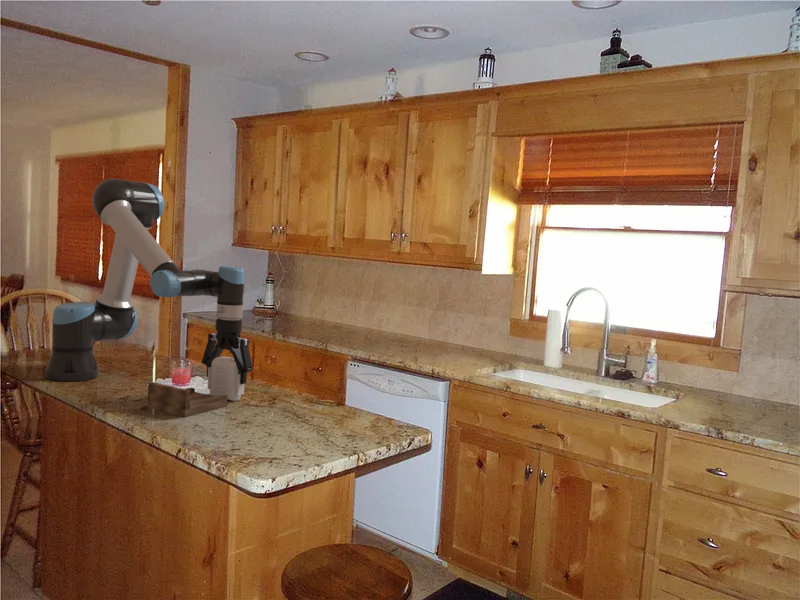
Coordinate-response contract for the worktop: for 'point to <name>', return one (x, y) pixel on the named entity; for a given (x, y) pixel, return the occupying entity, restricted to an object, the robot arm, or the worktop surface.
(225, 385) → the photo printer
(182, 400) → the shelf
